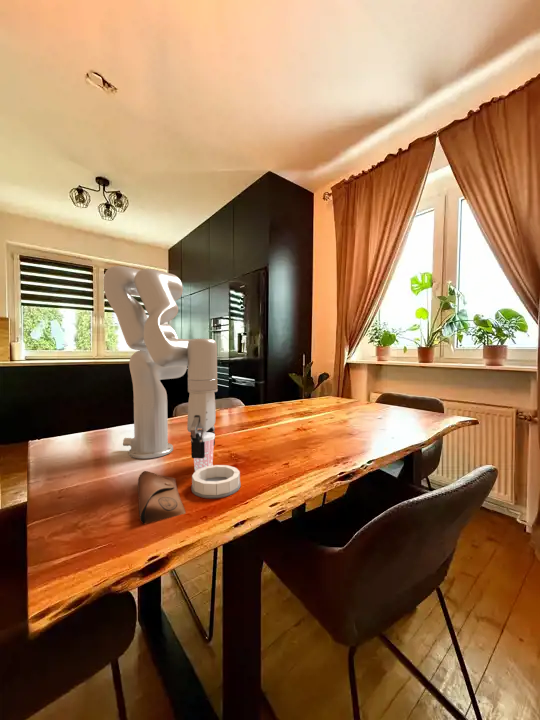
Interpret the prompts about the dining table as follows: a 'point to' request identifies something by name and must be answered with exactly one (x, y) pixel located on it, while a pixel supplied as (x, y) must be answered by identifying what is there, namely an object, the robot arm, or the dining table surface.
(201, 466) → the beverage cup
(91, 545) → the dining table surface
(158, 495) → the sunglasses case
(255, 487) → the dining table surface
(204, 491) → the cup holder ring
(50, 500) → the dining table surface
